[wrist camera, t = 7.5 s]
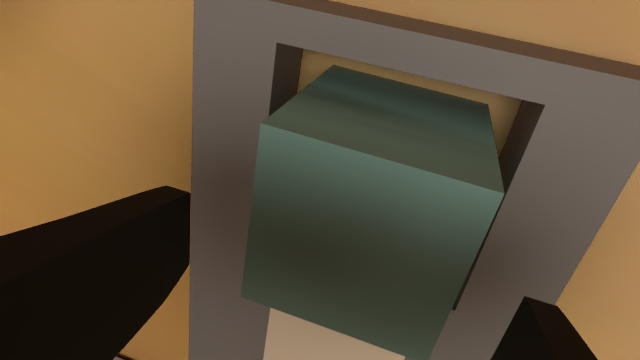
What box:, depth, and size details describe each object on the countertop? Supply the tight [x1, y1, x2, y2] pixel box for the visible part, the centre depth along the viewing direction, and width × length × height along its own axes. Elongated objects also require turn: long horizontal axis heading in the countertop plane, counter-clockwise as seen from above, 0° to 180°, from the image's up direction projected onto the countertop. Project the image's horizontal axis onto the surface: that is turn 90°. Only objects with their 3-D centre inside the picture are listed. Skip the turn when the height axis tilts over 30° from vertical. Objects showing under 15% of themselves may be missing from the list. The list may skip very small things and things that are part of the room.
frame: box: [189, 0, 640, 360], centre depth 15 cm, size 16×12×3 cm
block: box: [241, 65, 505, 360], centre depth 12 cm, size 5×5×6 cm
